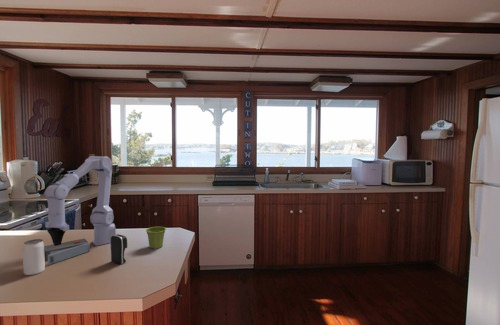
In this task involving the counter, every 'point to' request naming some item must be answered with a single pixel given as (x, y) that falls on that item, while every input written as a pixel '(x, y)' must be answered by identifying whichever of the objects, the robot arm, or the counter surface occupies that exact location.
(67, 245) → the grey rectangular box
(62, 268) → the counter surface
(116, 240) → the battery charger
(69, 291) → the counter surface
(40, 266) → the can
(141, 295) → the counter surface
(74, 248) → the grey bar handle
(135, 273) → the counter surface
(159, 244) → the plant pot
